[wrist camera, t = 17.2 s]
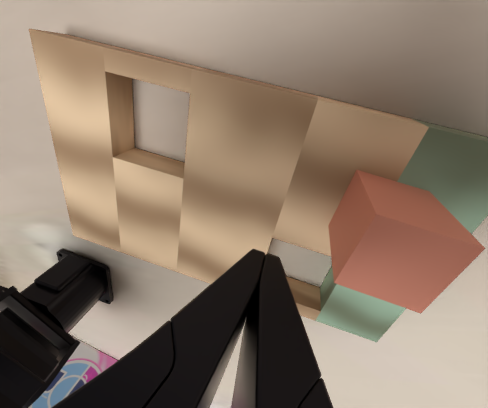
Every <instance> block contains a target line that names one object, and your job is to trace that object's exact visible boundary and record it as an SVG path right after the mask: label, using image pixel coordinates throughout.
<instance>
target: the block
mask: <svg viewBox="0 0 488 408" xmlns="http://www.w3.org/2000/svg"><path fill="white" fill-rule="evenodd" d="M328 228H329V238H330V248H331V258H332V269H333V279H334V283H335V284H338V285H341V286H344V287H347V288H350V289H352V290H355V291H358V292H361V293H364V294H367V295H370V296H372V297H375V298H378V299H381V300H384V301H387V302H390V303H392V304H395V305H398V306H401V307H404V308H407V309H410V310H412V311H415V312H418V313H422V312H423V311H424V310H425V309H426V308H427V307H428V306H429V305H430V304H431V302H432V301H433V300H434V299H435V298H436V297H437V296H438V295H439V294H440V293H441V292H442V291H443V290H444V289H445V288H446V287H447V286H448V285H449V284H450V283H451V282H452V281H453V280H454V279H455V278H456V277H457V276H458V275H459V274H460V273H461V272H462V271H463V270H464V269H465V268H466V267H467V266H468V265H469V264H470V263H471V262H472V261H473V260H474V259H475V258H476V257H477V256H478V255H479V254H480V253H481V252H482V251H483V250H484V249H485V248H484V247H483V246H482V245H481V244H480V243H479V242H478V241H477V240H476V239H475V238H474V236H473V235H472V234H471V233H470V232H469V231H468V230H467V229H466V228H465V227H464V226H463V225H462V224H461V223H460V222H459V221H458V220H457V219H456V218H455V217H454V216H453V215H452V214H451V213H450V212H449V211H448V210H447V209H446V208H445V207H444V206H443V205H442V204H441V203H440V202H439V201H438V200H437V199H436V197H435V196H434V195H433V194H432V193H431V192H430V191H426V190H423V189H420V188H416V187H413V186H410V185H406V184H403V183H400V182H396V181H393V180H390V179H386V178H383V177H380V176H376V175H373V174H370V173H366V172H363V171H360V170H356V172H355V174H354V176H353V178H352V180H351V182H350V184H349V186H348V188H347V190H346V192H345V194H344V196H343V197H342V199H341V201H340V203H339V205H338V207H337V209H336V211H335V213H334V215H333V217H332V219H331V221H330V223H329V225H328Z"/></svg>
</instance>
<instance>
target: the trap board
mask: <svg viewBox="0 0 488 408" xmlns="http://www.w3.org/2000/svg"><path fill="white" fill-rule="evenodd" d="M29 32H30V37H31V42H32V46H33V51H34V56H35V60H36V65H37V69H38V74H39V79H40V83H41V88H42V93H43V97H44V102H45V107H46V111H47V116H48V120H49V125H50V130H51V134H52V139H53V144H54V148H55V153H56V158H57V162H58V167H59V171H60V176H61V181H62V185H63V190H64V195H65V199H66V204H67V209H68V213H69V218H70V222H71V227H72V232H73V236H76V237H79V238H82V239H85V240H88V241H91V242H93V243H96V244H99V245H102V246H105V247H108V248H110V249H113V250H116V251H119V252H122V253H125V254H127V255H130V256H133V257H136V258H139V259H142V260H145V261H147V262H150V263H153V264H156V265H159V266H162V267H164V268H167V269H170V270H173V271H176V272H179V273H181V274H184V275H187V276H190V277H193V278H196V279H199V280H201V281H204V282H207V283H210V284H212V283H213V282H214V281H215V280H216V279H218V278H219V277H220V276H221V275H222V274H223V273H225V272H226V271H227V270H228V269H229V268H230V267H232V266H233V265H234V264H235V263H236V262H237V261H239V260H240V259H241V258H242V257H243V256H244V255H246V254H247V253H248V252H249V251H250V250H252V249H256V250H259V251H262V252H264V253H265V255H266V254H267V251H268V248H269V245H270V242H271V239H272V238H275V239H278V240H281V241H284V242H287V243H290V244H294V245H297V246H300V247H303V248H306V249H309V250H312V251H315V252H319V253H322V254H325V255H328V256H331V248H330V238H329V228H328V225H329V223H330V221H331V219H332V217H333V215H334V213H335V211H336V209H337V207H338V205H339V203H340V201H341V199H342V197H343V196H344V194H345V192H346V190H347V188H348V186H349V184H350V182H351V180H352V178H353V176H354V174H355V172H356V170H360V171H363V172H366V173H370V174H373V175H376V176H380V177H383V178H386V179H390V180H393V181H396V182H400V183H403V184H406V185H410V186H413V187H416V188H420V189H423V190H426V191H430V192H431V193H432V194H433V195H434V196H435V197H436V199H437V200H438V201H439V202H440V203H441V204H442V205H443V206H444V207H445V208H446V209H447V210H448V211H449V212H450V213H451V214H452V215H453V216H454V217H455V218H456V219H457V220H458V221H459V222H460V223H461V224H462V225H463V226H464V227H465V228H466V229H467V230H468V231H469V232H470V233H471V234H472V233H473V232H474V230H475V229H476V228H477V227H478V226H479V225H480V224H481V222H482V221H483V220H484V219H485V218H486V217H487V216H488V137H484V136H480V135H476V134H472V133H468V132H464V131H460V130H456V129H451V128H447V127H443V126H439V125H435V124H431V123H427V122H423V121H419V120H415V119H410V118H406V117H402V116H398V115H394V114H390V113H386V112H382V111H378V110H374V109H370V108H365V107H361V106H357V105H353V104H349V103H345V102H341V101H337V100H333V99H329V98H324V97H320V96H316V95H312V94H308V93H304V92H300V91H296V90H292V89H288V88H284V87H279V86H275V85H271V84H267V83H263V82H259V81H255V80H251V79H247V78H243V77H239V76H234V75H230V74H226V73H222V72H218V71H214V70H210V69H206V68H202V67H198V66H193V65H189V64H185V63H181V62H177V61H173V60H169V59H165V58H161V57H157V56H153V55H148V54H144V53H140V52H136V51H132V50H128V49H124V48H120V47H116V46H112V45H108V44H103V43H99V42H95V41H91V40H87V39H83V38H79V37H75V36H71V35H67V34H61V33H54V32H48V31H41V30H35V29H29ZM132 78H133V79H137V80H141V81H145V82H148V83H152V84H156V85H160V86H164V87H168V88H172V89H175V90H179V91H183V92H187V93H190V99H189V113H188V126H187V139H186V152H185V163H184V162H181V161H177V160H174V159H171V158H167V157H164V156H160V155H157V154H154V153H150V152H147V151H143V150H140V149H137V148H135V144H134V118H133V92H132ZM286 277H287V276H286ZM287 280H288V283H289V286H290V288H291V291H292V294H293V297H294V300H295V302H296V305H297V308H298V311H299V314H300V315H301V316H304V317H307V318H309V319H312V320H315V321H318V322H321V323H324V324H326V325H329V326H332V327H335V328H338V329H341V330H343V331H346V332H349V333H352V334H355V335H358V336H361V337H363V338H366V339H369V340H372V341H375V342H377V341H378V340H379V339H380V338H381V337H382V335H383V334H384V333H385V332H386V331H387V330H388V329H389V327H390V326H391V325H392V324H393V323H394V322H395V321H396V319H397V318H398V317H399V316H400V315H401V314H402V313H403V311H404V310H405V309H406V308H404V307H401V306H398V305H395V304H392V303H390V302H387V301H384V300H381V299H378V298H375V297H372V296H370V295H367V294H364V293H361V292H358V291H355V290H352V289H350V288H347V287H344V286H341V285H338V284H335V283H334V279H333V269H332V267H331V268H330V270H329V272H328V274H327V276H326V278H325V279H324V281H323V283H322V285H321V287H320V288H319V287H317V286H314V285H311V284H308V283H305V282H302V281H299V280H296V279H293V278H290V277H287Z"/></svg>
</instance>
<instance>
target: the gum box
mask: <svg viewBox="0 0 488 408" xmlns="http://www.w3.org/2000/svg"><path fill="white" fill-rule="evenodd" d="M72 337H73V336H72ZM73 338H74V337H73ZM74 339H75V340H76V338H74ZM77 340H78V339H77ZM78 341H79V342H80V344H79V346H78V347H77V348H76V350H75V351H74V352H73V354H72V355H71V357H70V358H69V359H68V361H67V362H66V364H65V365H64V366H63V368H62V369H61V370H60V372H59V373H58V375H57V376H56V377H55V379H54V380H53V382H52V383H51V384H50V385H49V387H48V388H47V389H46V390H45V391H44V393H43V394H42V395H41V396H40V397H39V398H38V399H37V400H36V401H35V402H34V403H33V404H32V405H31V406H30V407H29V408H51V407H52V406H54V405H55V404H57V403H58V402H60V401H61V400H63V399H64V398H65V397H67V396H68V395H70V394H71V393H73V392H74V391H76V390H77V389H78V388H80V387H81V386H83V385H84V384H86V383H87V382H89V381H90V380H91V379H93V378H94V377H96V376H97V375H99V374H100V373H101V372H103V371H104V370H106V369H107V368H109V367H110V366H111V365H113V364H114V363H115V362H117V360H116V359H114V358H112V357H110V356H108V355H106V354H104V353H102V352H101V351H99V350H97V349H95V348H93V347H92V346H90V345H88V344H86V343H84V342H82V341H80V340H78Z"/></svg>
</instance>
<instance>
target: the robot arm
mask: <svg viewBox="0 0 488 408" xmlns="http://www.w3.org/2000/svg"><path fill="white" fill-rule="evenodd" d="M57 257H58V260H59V262H58V263H56V264H55V265H54V266H52V267H51V268H50V269H48V270H47V271H46V272H44V273H43V274H42V275H40V276H39V277H38V278H36V279H35V280H34V283H33V284H31V285H30V286H29V287H27V288H26V289H25V290H23V291H22V292H21V293H19V292H18V291H17V289H16V288H15V287H14V286H12V287H10V288H9V289H8V288H5V287H2V286H0V311H1V312H0V408H29V407H30V406H31V405H32V404H33V403H34V402H35V401H36V400H37V399H38V398H39V397H40V396H41V395H42V394H43V393H44V391H45V390H46V389H47V388H48V387H49V385H50V384H51V383H52V382H53V380H54V379H55V377H56V376H57V375H58V373H59V372H60V370H61V369H62V368H63V366H64V365H65V364H66V362H67V361H68V359H69V358H70V357H71V355H72V354H73V352H74V351H75V350H76V348H77V347H78V346H79V344H80V342H79V341H78V340H77V339H76V340H75V339H74V338H73V337H72V336H71V335H69V334H68V332H69V331H70V330H71V329H72V328H73V327H74V326H75V325H76V324H77V323H78V322H79V321H80V320H81V318H82V317H83V316H84V315H85V314H86V313H87V312H88V311H89V310H90V309H91V308H92V307H93V306H94V305H95V304H96V303H97V301H98V300H99V301H102V302H105V303H107V304H110V303H111V302H112V301H113V297H112V289H111V281H110V274H109V268H108V267H107V266H106V265H104V264H101V263H98V262H95V261H93V260H90V259H87V258H84V257H82V256H79V255H76V254H73V253H70V252H68V251H65V250H62V249H61V250H59V251H58V252H57ZM246 317H247V318H246ZM245 320H246V322H245ZM244 323H245V326H244ZM243 326H244V331H243V336H242V343H241V349H240V355H239V361H238V368H237V374H236V380H235V386H234V393H233V399H232V405H231V408H333V405H332V403H331V400H330V397H329V395H328V392H327V389H326V386H325V383H324V380H323V379H322V378H320V377H321V372H320V370H319V367H318V364H317V361H316V358H315V356H314V353H313V350H312V347H311V344H310V342H309V339H308V336H307V333H306V330H305V328H304V325H303V322H302V319H301V316H300V314H299V311H298V308H297V305H296V302H295V300H294V297H293V294H292V291H291V288H290V286H289V283H288V280H287V277H286V274H285V272H284V269H283V266H282V263H281V260H280V258H279V257H278V256H275V255H272V254H268V253H267V254H266V255H265V253H264V252H262V251H259V250H256V249H252V250H250V251H249V252H248V253H247V254H246V255H244V256H243V257H242V258H241V259H240V260H239V261H237V262H236V263H235V264H234V265H233V266H232V267H230V268H229V269H228V270H227V271H226V272H225V273H223V274H222V275H221V276H220V277H219V278H218V279H216V280H215V281H214V282H213V283H212V284H211V285H209V286H208V287H207V288H206V289H205V290H204V291H202V292H201V293H200V294H199V295H198V296H197V297H195V298H194V299H193V300H192V301H191V302H190V303H188V304H187V305H186V306H185V307H184V308H183V309H181V310H180V311H179V312H178V313H177V314H176V315H174V316H173V317H172V318H171V321H167V322H166V323H165V324H164V325H163V326H161V327H160V328H159V329H158V330H157V331H156V332H154V333H153V334H152V335H151V336H149V337H148V338H147V339H146V340H144V341H143V342H142V343H141V344H139V345H138V346H137V347H136V348H135V349H133V350H132V351H131V352H129V353H128V354H126V355H125V356H124V357H122V358H121V359H120V360H118V361H117V362H115V363H114V364H113V365H111V366H110V367H109V368H107V369H106V370H104V371H103V372H101V373H100V374H99V375H97V376H96V377H94V378H93V379H91V380H90V381H89V382H87V383H86V384H84V385H83V386H81V387H80V388H78V389H77V390H76V391H74V392H73V393H71V394H70V395H68V396H67V397H65V398H64V399H63V400H61V401H60V402H58V403H57V404H55V405H54V406H52V407H51V408H209V407H210V405H211V403H212V400H213V398H214V395H215V393H216V391H217V388H218V386H219V384H220V381H221V379H222V376H223V374H224V372H225V369H226V367H227V365H228V362H229V360H230V358H231V355H232V353H233V350H234V348H235V346H236V343H237V341H238V339H239V336H240V334H241V331H242V329H243Z"/></svg>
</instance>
